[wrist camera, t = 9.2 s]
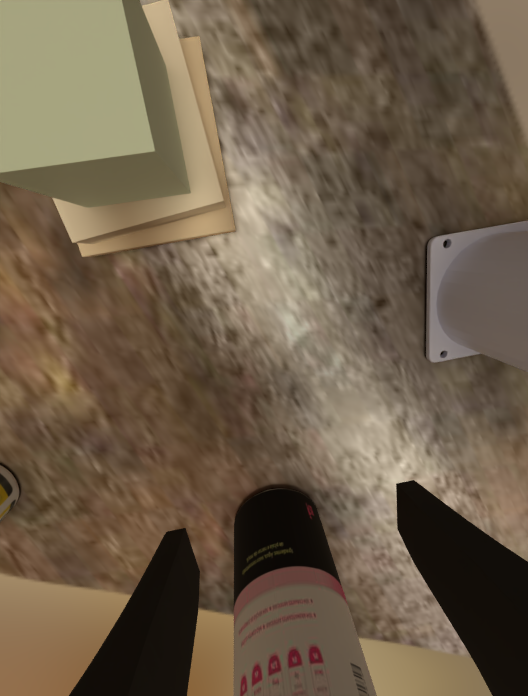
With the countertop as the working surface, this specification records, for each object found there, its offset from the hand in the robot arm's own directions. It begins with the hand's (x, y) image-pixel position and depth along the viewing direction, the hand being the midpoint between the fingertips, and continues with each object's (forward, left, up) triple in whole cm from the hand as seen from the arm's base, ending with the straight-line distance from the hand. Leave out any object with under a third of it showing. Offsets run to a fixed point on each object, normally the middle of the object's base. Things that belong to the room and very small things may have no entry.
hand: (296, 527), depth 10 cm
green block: (+4, -14, -7) cm, 16 cm away
